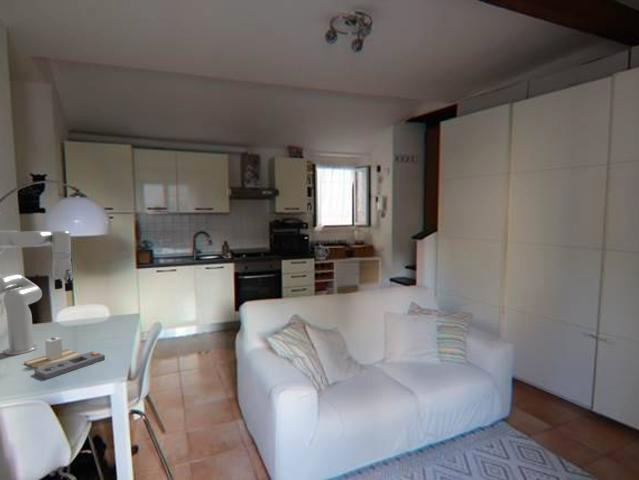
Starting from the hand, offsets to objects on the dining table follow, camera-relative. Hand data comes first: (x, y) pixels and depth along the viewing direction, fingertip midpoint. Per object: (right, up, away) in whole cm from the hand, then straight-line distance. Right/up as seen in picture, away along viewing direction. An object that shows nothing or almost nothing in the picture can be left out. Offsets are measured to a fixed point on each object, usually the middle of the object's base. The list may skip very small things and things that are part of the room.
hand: (63, 289), depth 183 cm
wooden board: (+4, -31, -12) cm, 33 cm away
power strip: (+17, -32, -19) cm, 41 cm away
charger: (+4, -30, -12) cm, 33 cm away
